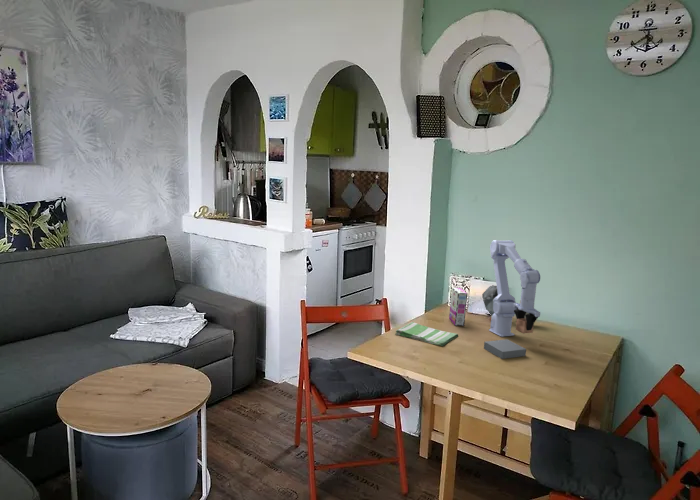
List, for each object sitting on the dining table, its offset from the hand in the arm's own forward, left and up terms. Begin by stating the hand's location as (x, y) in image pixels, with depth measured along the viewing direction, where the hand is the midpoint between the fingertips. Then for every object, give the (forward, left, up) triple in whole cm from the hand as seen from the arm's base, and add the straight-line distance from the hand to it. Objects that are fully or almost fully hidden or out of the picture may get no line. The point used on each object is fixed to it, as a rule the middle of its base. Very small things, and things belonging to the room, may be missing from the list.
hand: (524, 327), depth 220 cm
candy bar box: (-36, -10, -8) cm, 38 cm away
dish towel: (-23, -35, -9) cm, 43 cm away
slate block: (+4, -13, -8) cm, 16 cm away
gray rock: (-36, +12, -8) cm, 39 cm away
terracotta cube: (0, 0, -2) cm, 2 cm away
